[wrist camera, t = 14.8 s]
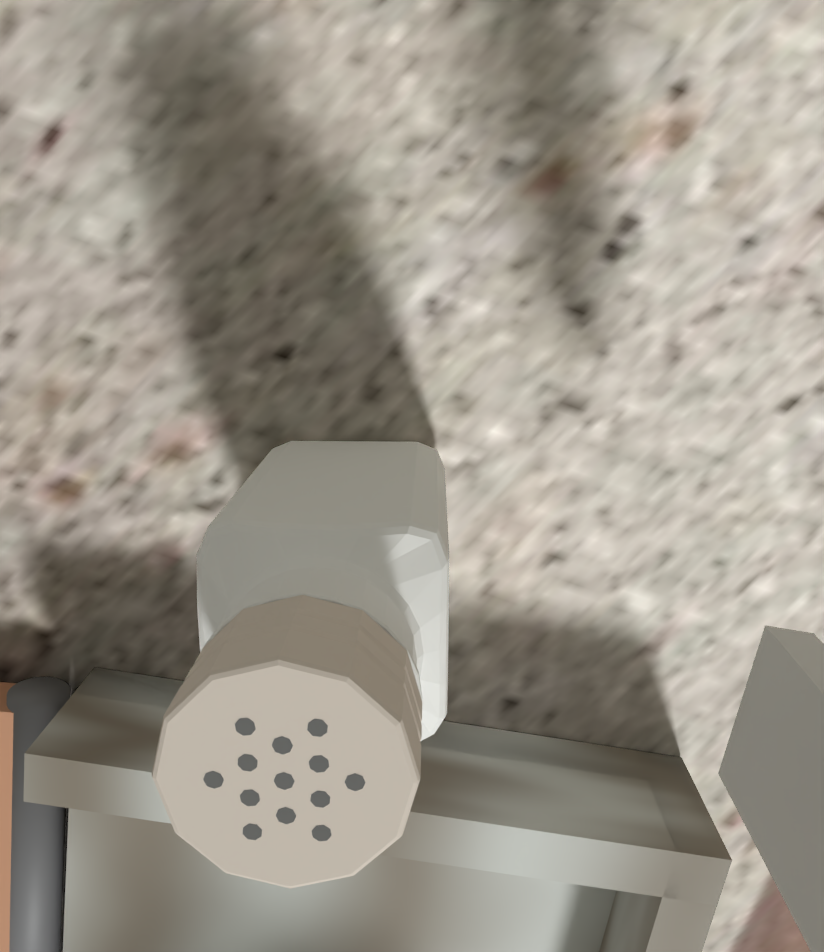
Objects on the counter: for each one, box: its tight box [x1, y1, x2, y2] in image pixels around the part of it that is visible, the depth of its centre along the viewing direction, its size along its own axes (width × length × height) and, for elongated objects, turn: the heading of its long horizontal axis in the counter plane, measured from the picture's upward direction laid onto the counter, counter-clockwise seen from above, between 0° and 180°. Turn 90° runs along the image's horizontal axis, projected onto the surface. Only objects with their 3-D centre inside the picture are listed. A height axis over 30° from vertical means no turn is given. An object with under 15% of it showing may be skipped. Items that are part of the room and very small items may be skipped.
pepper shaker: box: [152, 441, 449, 889], centre depth 14 cm, size 4×4×10 cm
